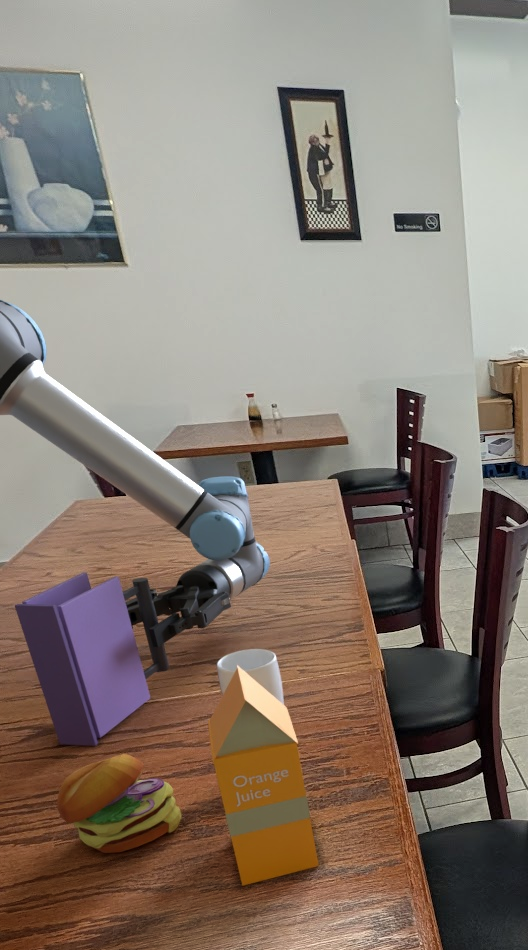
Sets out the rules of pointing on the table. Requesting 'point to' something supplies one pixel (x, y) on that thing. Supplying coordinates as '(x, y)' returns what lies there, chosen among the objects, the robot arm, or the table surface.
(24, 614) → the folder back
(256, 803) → the orange juice
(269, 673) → the drinking glass
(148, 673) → the folder cover
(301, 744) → the table surface
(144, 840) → the cheeseburger
